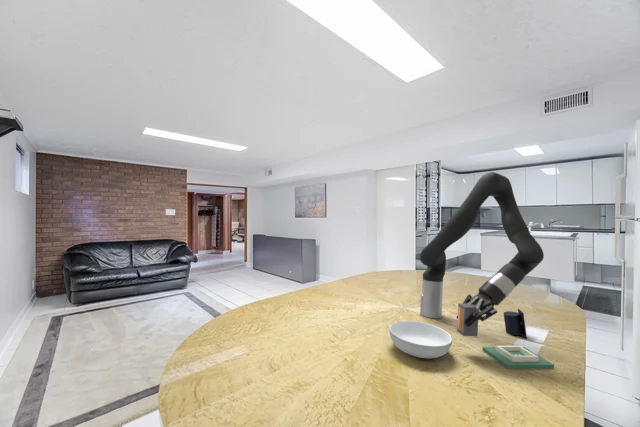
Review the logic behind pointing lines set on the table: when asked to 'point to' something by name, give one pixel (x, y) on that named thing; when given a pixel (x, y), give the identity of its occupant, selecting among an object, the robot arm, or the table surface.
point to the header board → (517, 357)
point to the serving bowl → (420, 339)
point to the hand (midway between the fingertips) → (462, 321)
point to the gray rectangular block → (463, 314)
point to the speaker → (515, 323)
